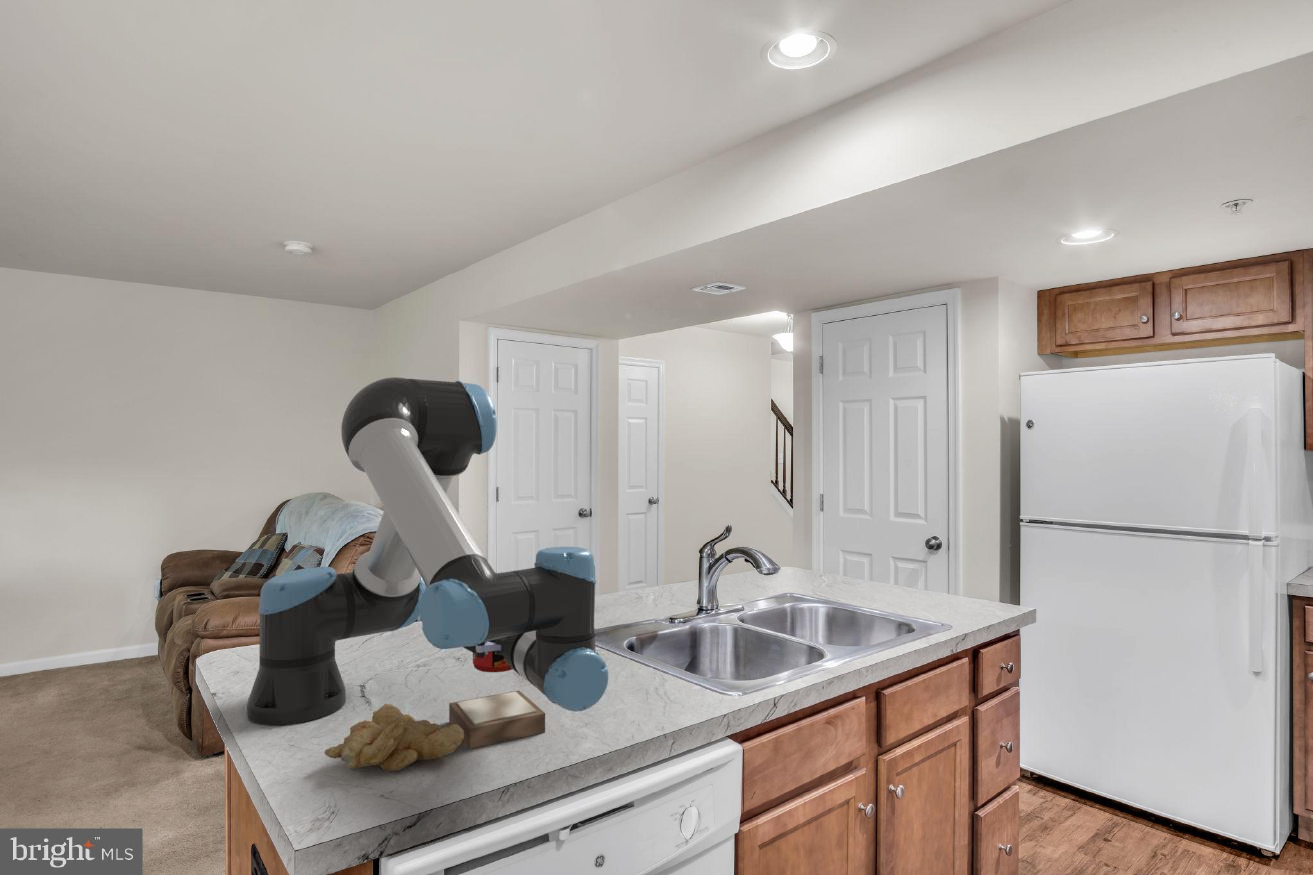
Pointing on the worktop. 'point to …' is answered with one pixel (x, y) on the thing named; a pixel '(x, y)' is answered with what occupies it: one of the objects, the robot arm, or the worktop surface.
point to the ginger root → (395, 741)
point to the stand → (497, 718)
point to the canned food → (491, 663)
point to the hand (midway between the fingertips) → (488, 618)
